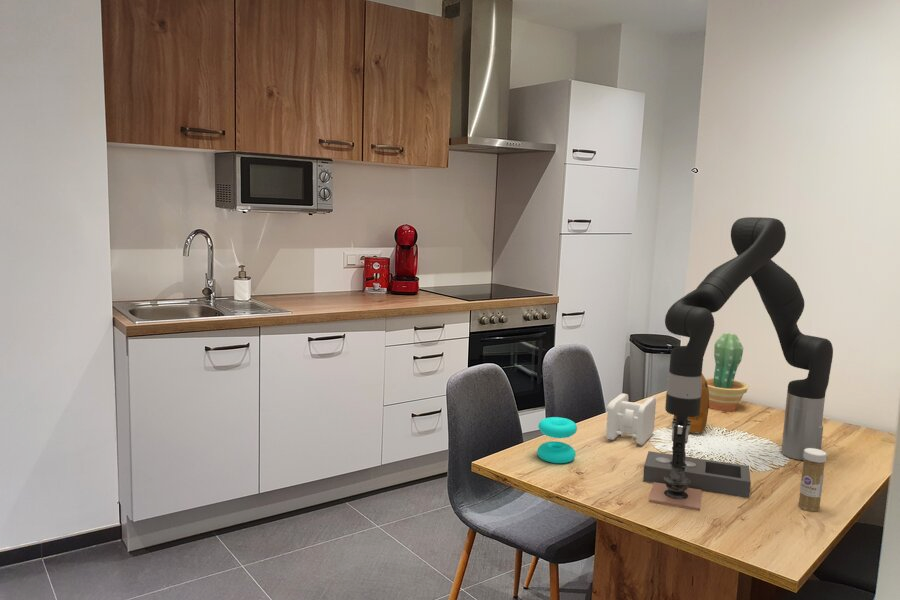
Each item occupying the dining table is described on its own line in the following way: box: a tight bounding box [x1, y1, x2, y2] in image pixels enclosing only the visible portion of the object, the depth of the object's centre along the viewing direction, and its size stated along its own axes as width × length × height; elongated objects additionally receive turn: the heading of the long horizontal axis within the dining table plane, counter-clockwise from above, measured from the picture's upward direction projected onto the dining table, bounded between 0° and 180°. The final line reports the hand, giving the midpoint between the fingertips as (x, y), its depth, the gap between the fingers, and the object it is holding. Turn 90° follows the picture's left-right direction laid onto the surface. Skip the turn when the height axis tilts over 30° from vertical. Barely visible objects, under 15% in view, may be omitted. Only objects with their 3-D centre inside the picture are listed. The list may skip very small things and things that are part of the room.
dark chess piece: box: [664, 445, 690, 499], centre depth 164 cm, size 6×6×12 cm
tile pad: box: [648, 482, 702, 512], centre depth 165 cm, size 11×11×1 cm
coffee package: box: [673, 373, 710, 434], centre depth 215 cm, size 10×12×22 cm
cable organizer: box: [605, 392, 657, 446], centre depth 205 cm, size 15×11×12 cm
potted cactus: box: [705, 332, 750, 412], centre depth 239 cm, size 15×16×25 cm
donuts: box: [536, 416, 578, 464], centre depth 188 cm, size 10×10×10 cm
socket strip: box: [642, 450, 752, 499], centre depth 175 cm, size 24×11×4 cm, turn 69°
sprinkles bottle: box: [797, 448, 827, 512], centre depth 161 cm, size 5×5×14 cm
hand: (678, 461), depth 164 cm, fingers open, 8 cm apart
